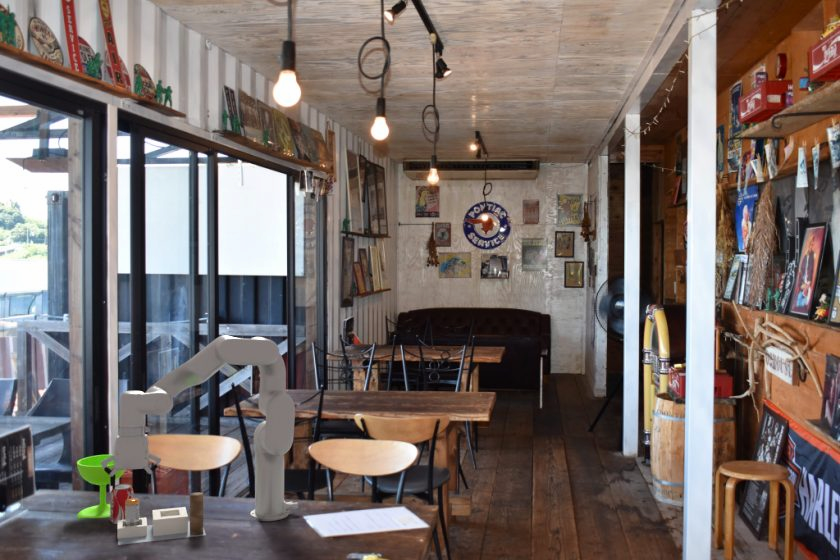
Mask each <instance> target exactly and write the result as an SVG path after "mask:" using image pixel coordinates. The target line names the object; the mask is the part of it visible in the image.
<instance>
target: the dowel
mask: <svg viewBox="0 0 840 560" xmlns="http://www.w3.org/2000/svg"><path fill="white" fill-rule="evenodd" d="M189 521H190V535H201V534H203V527H204V493H203V492H191V493H190V494H189Z"/></svg>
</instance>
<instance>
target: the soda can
mask: <svg viewBox="0 0 840 560" xmlns="http://www.w3.org/2000/svg"><path fill="white" fill-rule="evenodd" d="M134 496H135V494H134V489H133V487H132V484H130V483H119V484H115V489H114V490H113V488H112V489H111V491H110V496H109V497H110V499H109V501H110V502H109V504H110V517H109V518H110V519H109V520H110V523H111V524H115V525H116V524H117V525H118V520H125V501H126V500H127V499H132V498H135V497H134Z"/></svg>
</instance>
